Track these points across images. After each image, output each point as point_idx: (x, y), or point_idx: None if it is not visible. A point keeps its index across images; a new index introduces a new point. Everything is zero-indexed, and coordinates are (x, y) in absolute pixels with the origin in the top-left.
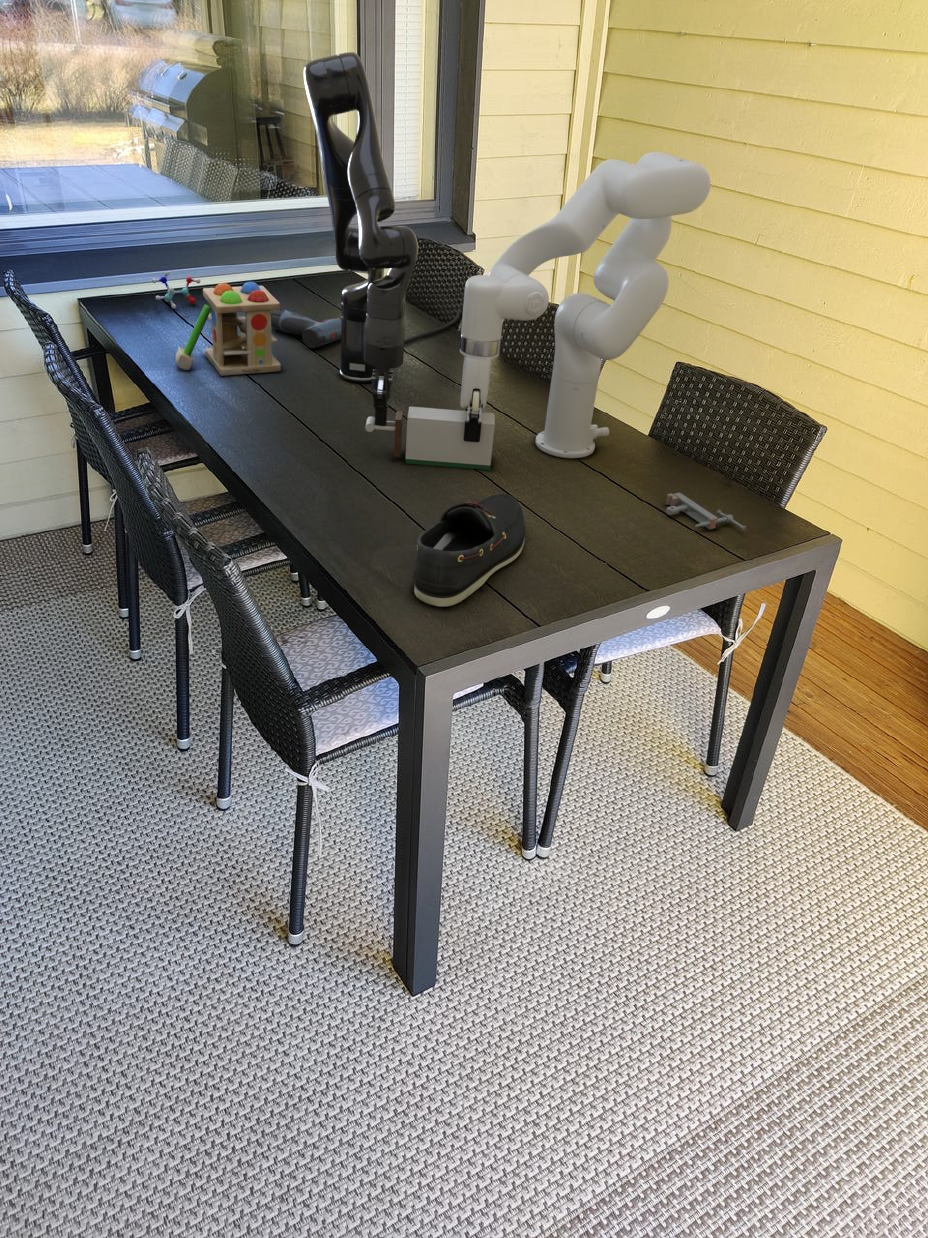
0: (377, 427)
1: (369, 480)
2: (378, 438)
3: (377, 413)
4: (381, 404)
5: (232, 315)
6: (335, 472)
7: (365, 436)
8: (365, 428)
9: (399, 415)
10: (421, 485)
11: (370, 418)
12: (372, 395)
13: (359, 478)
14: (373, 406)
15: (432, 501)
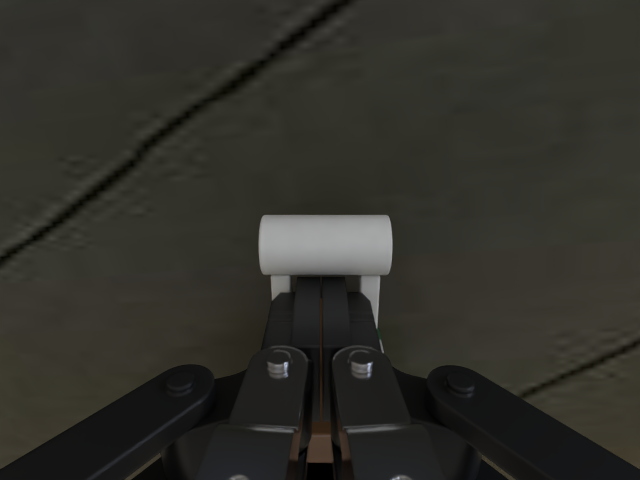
0: (273, 290)
1: (76, 212)
2: (499, 213)
3: (263, 344)
4: (163, 462)
5: None
6: (92, 52)
7: (520, 153)
8: (263, 216)
9: (323, 449)
10: (112, 382)
11: (349, 253)
12: (212, 436)
13: (77, 170)
14: (171, 376)
15: (15, 414)
